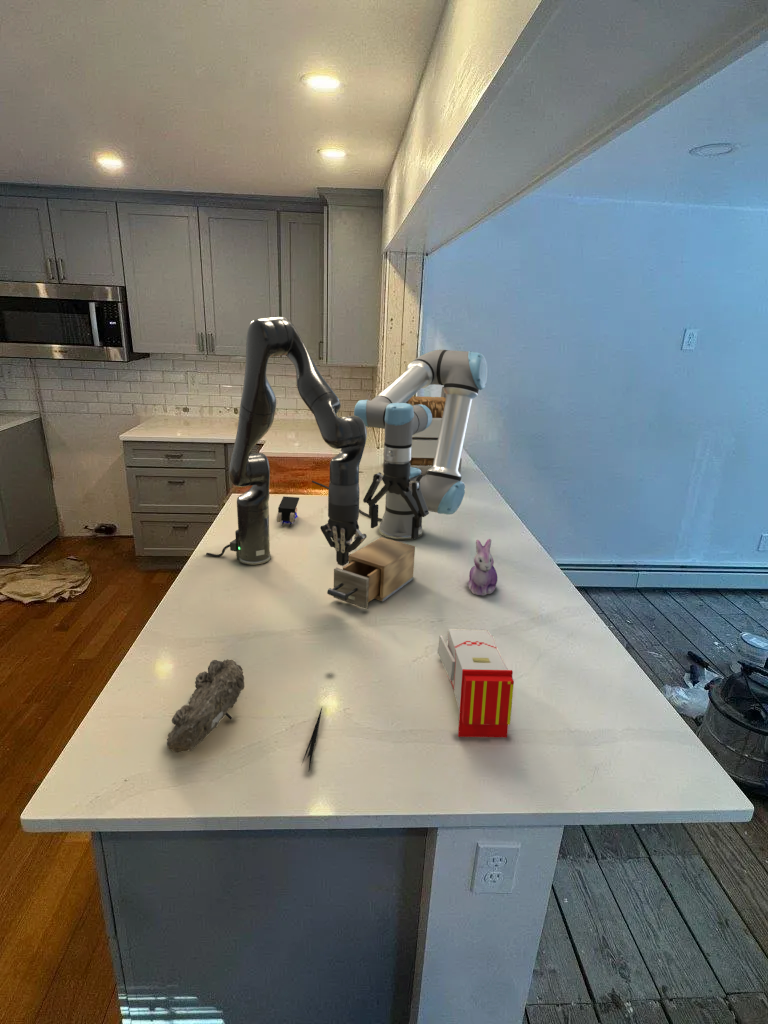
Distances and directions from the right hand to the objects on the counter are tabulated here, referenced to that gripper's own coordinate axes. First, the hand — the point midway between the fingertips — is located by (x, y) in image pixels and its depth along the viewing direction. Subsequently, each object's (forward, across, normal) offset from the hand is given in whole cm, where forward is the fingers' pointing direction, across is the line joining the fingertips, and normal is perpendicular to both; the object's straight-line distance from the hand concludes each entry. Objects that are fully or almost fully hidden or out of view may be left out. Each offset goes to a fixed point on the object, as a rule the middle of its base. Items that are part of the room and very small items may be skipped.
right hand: (394, 532), depth 163 cm
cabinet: (+14, 0, -6) cm, 15 cm away
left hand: (0, 0, -25) cm, 25 cm away
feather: (+13, +21, -61) cm, 66 cm away
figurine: (+14, +25, +9) cm, 30 cm away
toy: (+14, +41, -36) cm, 57 cm away
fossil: (+13, +4, -72) cm, 73 cm away
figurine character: (+15, -54, +15) cm, 58 cm away
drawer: (+13, 0, -17) cm, 22 cm away
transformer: (+16, -48, +104) cm, 116 cm away
